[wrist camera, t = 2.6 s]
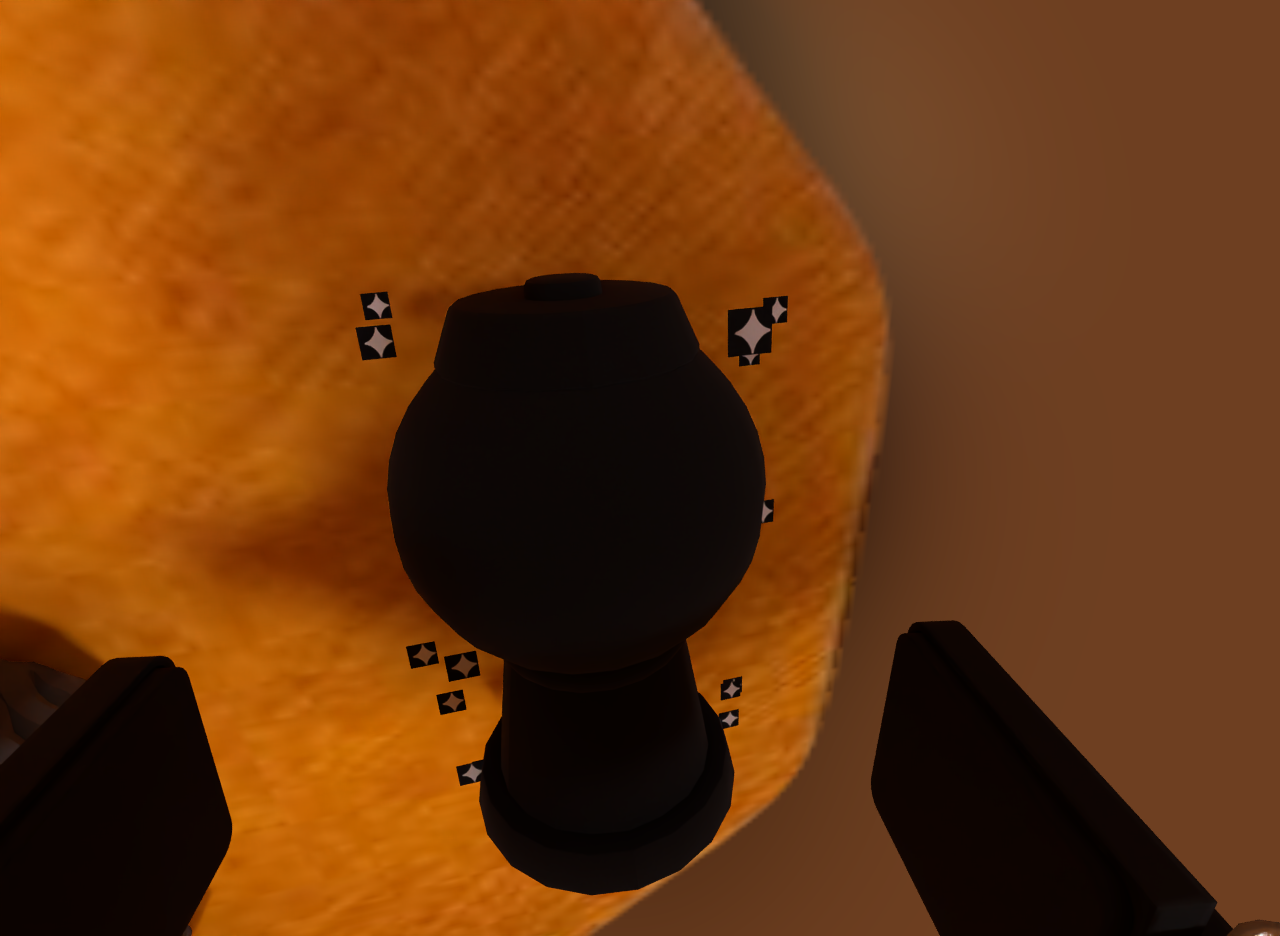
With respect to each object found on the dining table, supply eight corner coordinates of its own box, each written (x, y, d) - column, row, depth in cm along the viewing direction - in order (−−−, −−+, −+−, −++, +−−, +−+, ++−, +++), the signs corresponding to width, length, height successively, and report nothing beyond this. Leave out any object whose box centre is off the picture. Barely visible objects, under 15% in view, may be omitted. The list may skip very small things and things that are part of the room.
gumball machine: (722, 661, 17) (721, 246, 13) (846, 877, 11) (907, 278, 8) (449, 719, 15) (356, 273, 11) (444, 998, 10) (267, 337, 6)
